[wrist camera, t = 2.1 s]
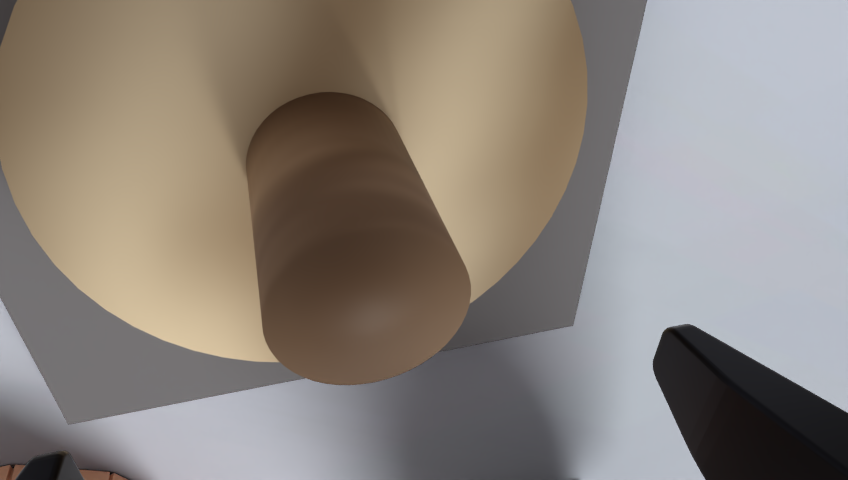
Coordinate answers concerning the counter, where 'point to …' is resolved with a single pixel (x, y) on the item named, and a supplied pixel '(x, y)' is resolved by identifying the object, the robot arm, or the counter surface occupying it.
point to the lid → (291, 164)
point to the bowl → (6, 475)
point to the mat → (212, 375)
